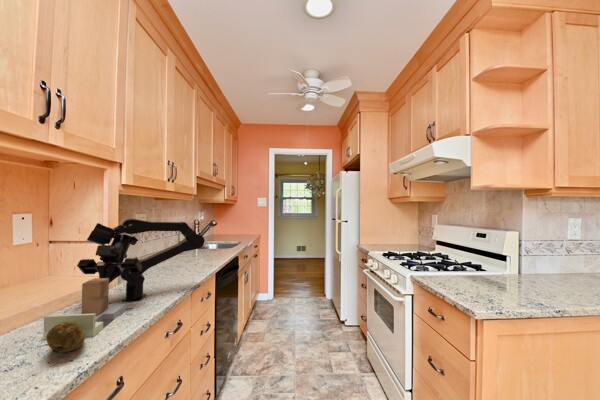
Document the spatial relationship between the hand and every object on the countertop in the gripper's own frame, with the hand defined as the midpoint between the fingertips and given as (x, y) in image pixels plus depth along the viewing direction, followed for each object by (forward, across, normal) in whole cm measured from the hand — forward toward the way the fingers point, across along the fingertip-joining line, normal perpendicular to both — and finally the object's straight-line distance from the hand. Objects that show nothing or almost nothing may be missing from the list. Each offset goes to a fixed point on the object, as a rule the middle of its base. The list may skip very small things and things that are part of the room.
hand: (100, 288), depth 90 cm
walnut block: (+7, 0, +2) cm, 7 cm away
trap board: (+10, 0, +2) cm, 10 cm away
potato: (+22, +5, -10) cm, 25 cm away
